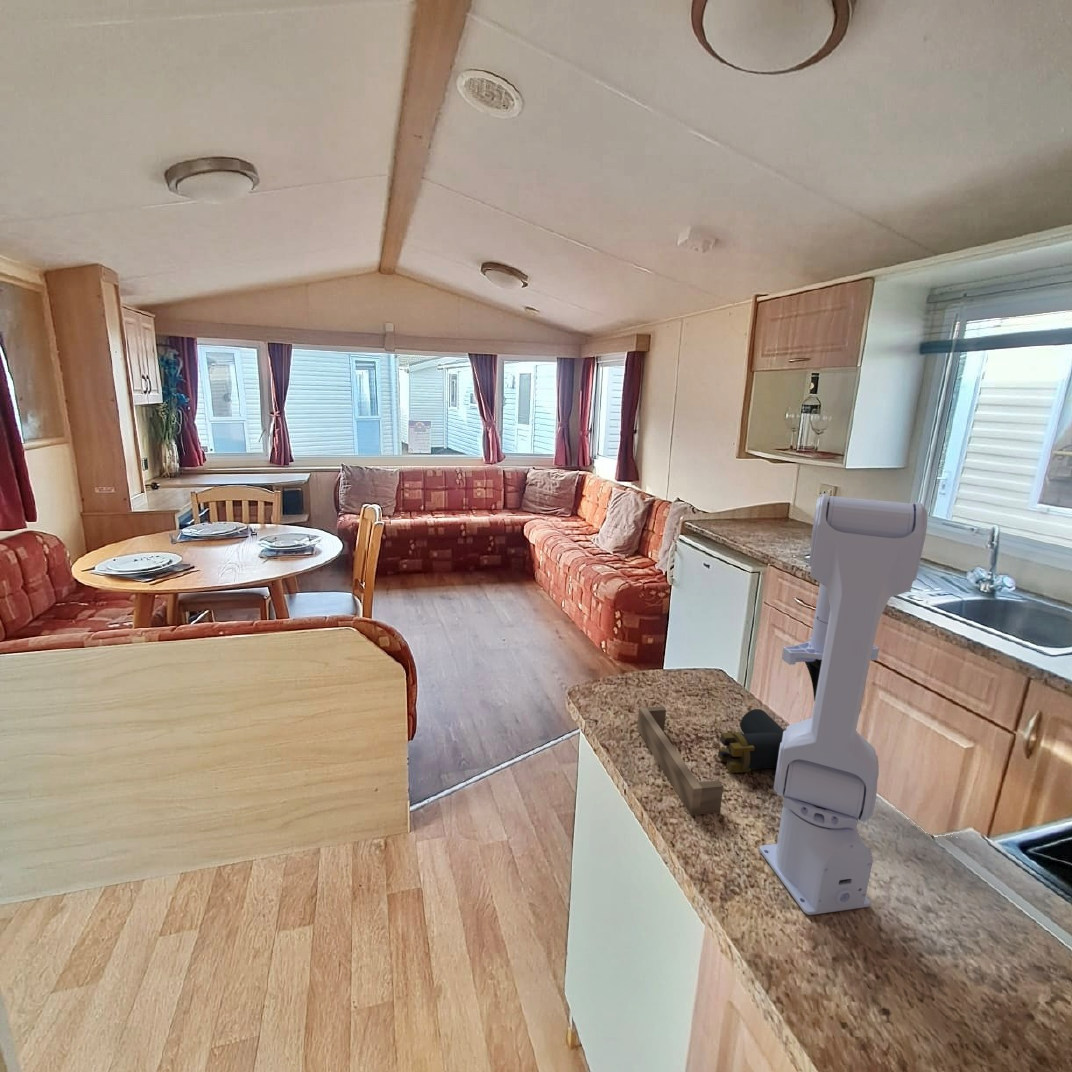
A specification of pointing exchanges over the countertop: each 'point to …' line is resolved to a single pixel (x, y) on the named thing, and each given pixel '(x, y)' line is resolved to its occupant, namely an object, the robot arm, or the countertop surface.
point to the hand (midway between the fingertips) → (822, 704)
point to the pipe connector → (752, 743)
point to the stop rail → (677, 765)
